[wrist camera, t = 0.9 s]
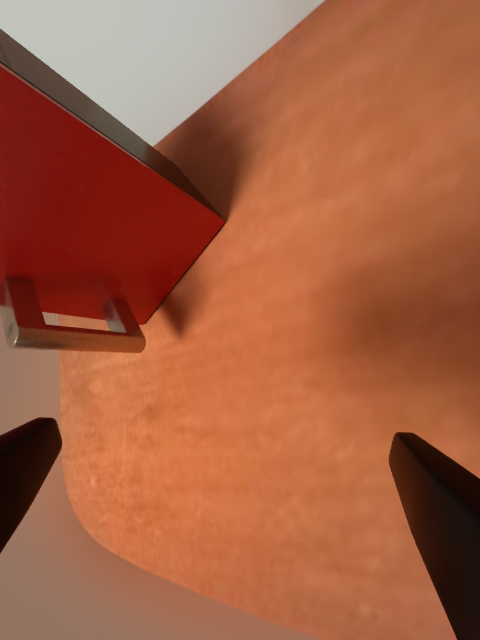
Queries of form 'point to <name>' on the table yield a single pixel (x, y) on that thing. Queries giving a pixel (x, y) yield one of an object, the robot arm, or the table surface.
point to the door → (84, 228)
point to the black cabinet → (90, 112)
